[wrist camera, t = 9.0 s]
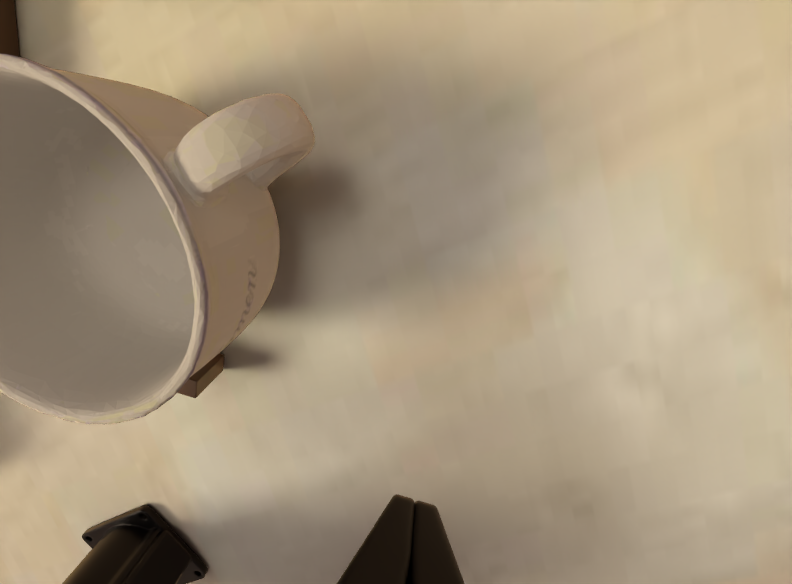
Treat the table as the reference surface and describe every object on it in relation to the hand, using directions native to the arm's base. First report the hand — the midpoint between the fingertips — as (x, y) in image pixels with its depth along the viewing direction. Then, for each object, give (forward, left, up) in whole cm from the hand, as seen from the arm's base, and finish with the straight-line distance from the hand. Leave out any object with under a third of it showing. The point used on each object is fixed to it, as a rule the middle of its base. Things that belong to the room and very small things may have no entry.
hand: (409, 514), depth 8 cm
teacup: (-6, +8, -12) cm, 16 cm away
